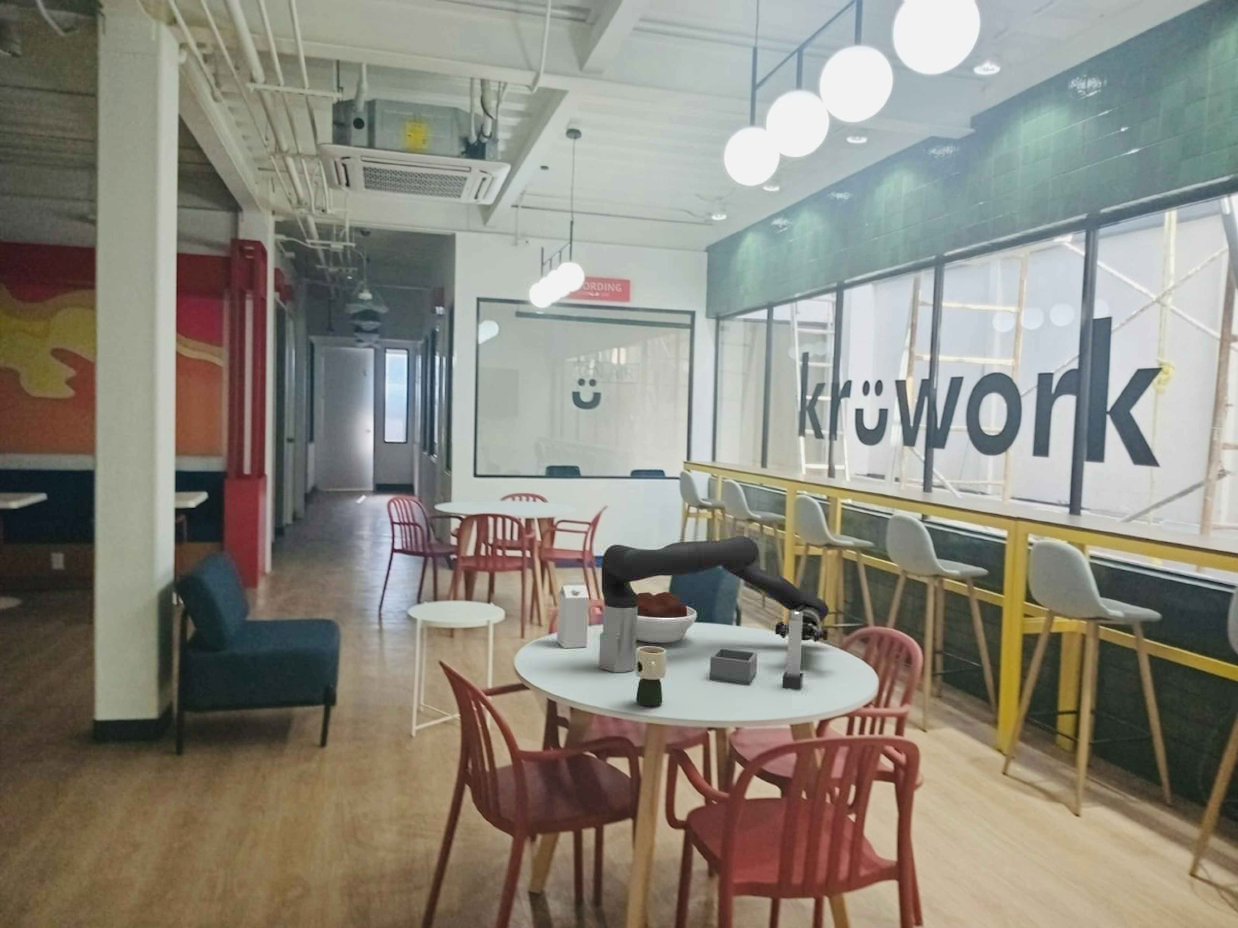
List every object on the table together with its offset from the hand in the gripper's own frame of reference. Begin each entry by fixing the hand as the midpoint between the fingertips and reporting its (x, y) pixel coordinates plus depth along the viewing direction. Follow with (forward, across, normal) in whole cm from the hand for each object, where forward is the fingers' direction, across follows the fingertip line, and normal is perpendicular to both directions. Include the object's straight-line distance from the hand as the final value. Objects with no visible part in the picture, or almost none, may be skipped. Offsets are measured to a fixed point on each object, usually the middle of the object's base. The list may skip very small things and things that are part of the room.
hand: (799, 636), depth 234 cm
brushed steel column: (+10, 0, +11) cm, 15 cm away
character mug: (+41, -30, +11) cm, 52 cm away
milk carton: (-1, -66, +11) cm, 67 cm away
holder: (+9, -16, +11) cm, 21 cm away
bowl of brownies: (-20, -46, +11) cm, 51 cm away
